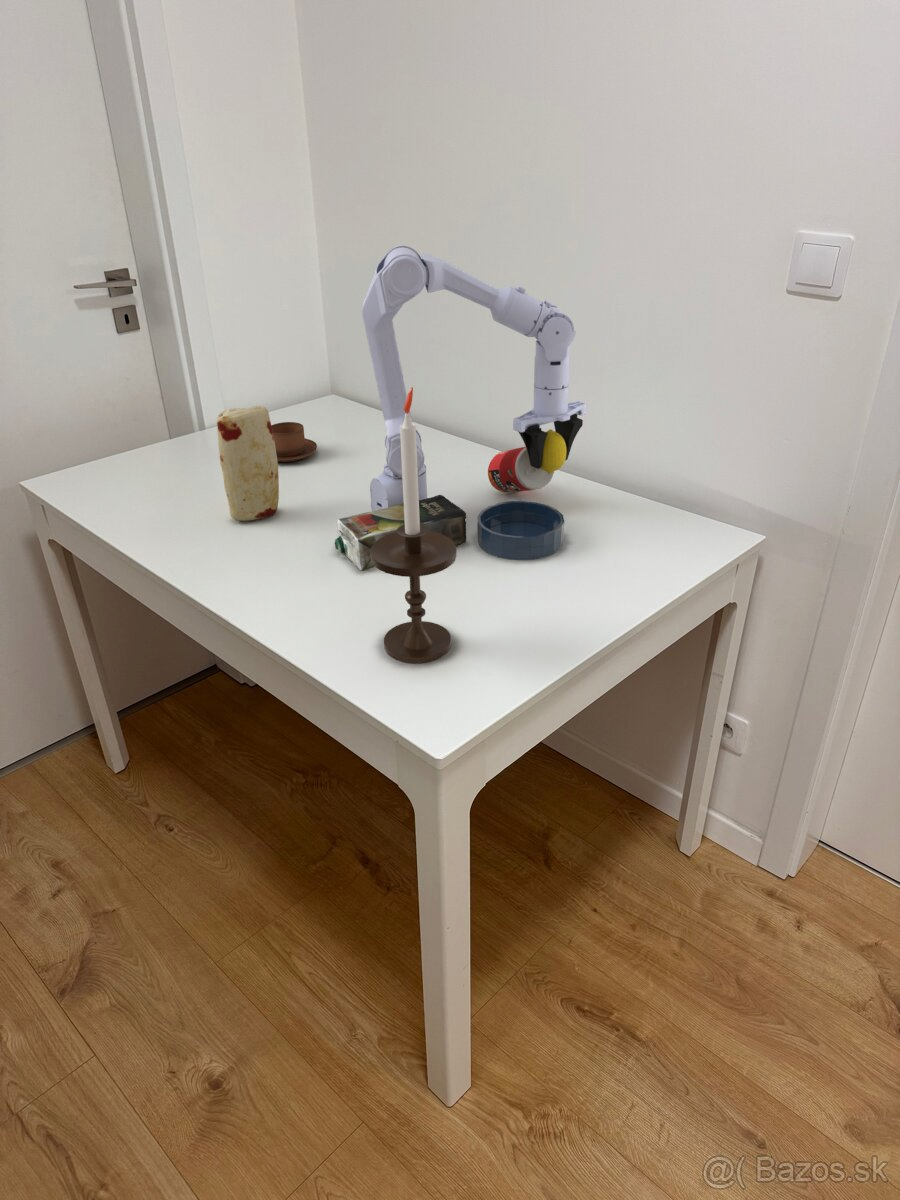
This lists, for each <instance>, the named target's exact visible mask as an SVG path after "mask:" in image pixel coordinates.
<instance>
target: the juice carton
mask: <svg viewBox="0 0 900 1200" xmlns="http://www.w3.org/2000/svg"><path fill="white" fill-rule="evenodd" d="M419 518H420V524H422V525H425V526H426V527H427V528H428V531H431V532H436V533H440V534H442V535H445V536H447V537H449V538H450V539H451V540H452V541H454V543H455V545H456V547H459V546H461V545H464V544H466V543H467V520H466V519H467V512H466V511H465V510H464V509H462V508H460V506H458V505H457V504H455V503H454V502H452V501H451V500H450V499H448V498H447V497H446V496H444V495H443V494H437V495H435V496H431V497H427V499H423V500H419ZM402 525H405V519H404V504H400V505H396V506H393V507H389V508H385V509H379V510H376V511H372V510H371V511H367V512H363V513H362V512H361V513H358V514H354V515H350V516H346V517H341V518H338V519H337V533H338V534H337V535H338V537H337V538H335V539H334V547H335V550H338V551H339V552H340V553H341V554H343V555H345V556H346V557H347V558H348V559H349V560H350V561H351V562H352V563H354V565H355V566H356V567H357V568H358V569H359V571H366V570H369V569H373V568H375V566H374V565H373V564H372V561H371V554H370V551H371V547H372V545H373V544H374V543H375V542H376V541H377V540H379V539H380V538H382V537H384V536H386V535H389V534H392V533H396V532H397V529H398V528H399V527H400V526H402Z"/></svg>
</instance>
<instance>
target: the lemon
mask: <svg viewBox="0 0 900 1200" xmlns="http://www.w3.org/2000/svg"><path fill="white" fill-rule="evenodd" d="M546 432H547V433H548V435H547V437H546V440H545V443H544V448H543V459H542V466H541V468H540V469H542V470H544V471H546V472H547V473H548V474H552V473H553V472H554V473H555V472H556V471H558V470H560V469H561V468H562V467H563V466H564V464H565V462H566V460H565V459H566V444H565V441H564V439H563V437H562V436H561V435H560V434H559V433H557V432H555V430H553V429H548V430H547V431H546Z"/></svg>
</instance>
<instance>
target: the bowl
mask: <svg viewBox="0 0 900 1200" xmlns="http://www.w3.org/2000/svg"><path fill="white" fill-rule="evenodd" d="M564 538H565V517H564V514H562V513H561V511H559V510H558V509H557V508H555V507H553V506H550V505H548V504H546V503H545V504H544V503H541V502H537V501H529V500H512V501H503V502H498V503H494V504H492V505H489V506H487V507H485V508H483V509H482V510H481V511H480V512H479V513H478V515H477V516H476V541H477V544H478V547H479V548H480V549H481V550H482V551H483V552H485V553H486V554H489V555H491V556H493V557H495V558H500V559H505V560H511V561H530V560H539V559H543V558H546V557H549V556H552V555H553V554H555V553H557V552H558V551H560V549H561V548H562V547H563V544H564V540H565V539H564Z"/></svg>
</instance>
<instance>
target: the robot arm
mask: <svg viewBox="0 0 900 1200" xmlns="http://www.w3.org/2000/svg"><path fill="white" fill-rule="evenodd" d="M424 288H425V290H426V292H427V293H428V294H430V293H434V292H438V291H439V292H440V291H443V290H445V291H448V292H450V293H453V294H455V295H457V296H459V297H462V298H464V299H467V300H468V301H471V302H472V303H475V304H478V305H480V306H482V307H484V308H487V309H489V310H490V313H491V318H492V320H493V321H494V322H496V323H497V324H498V323H499V324H500V325H502V326H504V327H507V328H508V329H510V330H512V331H514V332H517V333H519V334H521V335H523V336H525V337H527V338H535V339H536V340H535V355H534V364H533V365H534V368H533V369H534V371H533V372H534V373H533V408H532V409H531V410H529V411H527V412H525V413H523V414H522V415H520V416H517V417H514V418H513V419H512V430H513V431H516V432H517V433H518V434H519V436H520V437H521V440H522V441H523V443H524V447H526V449H527V452H528V456H529V460H530V465H531V466H532V467H535V468H537V469H539V468H541V466H542V459H543V448H544V443H545V440H546V437H547V435H548V433H547V431H544V430H542V427H541V426H543V425H547V424H551V423H553V426H554V431H555V432H557V433H559V434H560V435H561V436H562V437H563V439H564V441H565V444H566V459H565V461H568V460H569V456H570V453H571V449H572V446H573V443H574V441H575V439H576V437H577V435H578V433H579V431H580V430H581V428H582V427H583V424H584V423H583V422H584V420H583V419H582V418H579V417H578V416H586V415H587V403H585V402H582V401H579V400H578V401H572V402H569V393H570V392H569V390H570V366H571V365H570V364H571V356H570V351H571V345H572V343H573V342H574V340H575V337H576V330H575V327H574V323H573V321H572V320H571V318H570V316H568V315H567V314H566V313H565V312H564V311H563V310H562V309H560V308H559V307H558V306H557V305H555V304H553V303H552V302H551V301H549V300H547V299H545V300H544V301H542V300H540V299H538V298H537V297H534V296H533V295H530V294H528V293H526V288H524V286H521V285H520V284H517V285H516V287H514V286H512V285H507V286H504V287H500V288H496V287H495V286H493V285H490V284H489V283H487V282H485V281H484V280H481V279H479V278H478V277H477V276H474V275H472V274H470V273H468V272H466V271H464V270H463V269H461V268H459V267H457V266H455V265H454V264H451V262H449V261H446V260H444V259H443V258H440V257H437V256H435V255H432V254H431V253H427V252H424V251H420V254H419V252H418V251H417V250H416V249H414V248H413V247H411V246H408V245H397V246H394V247H393V248H391V249H389V251H387V252H386V254H385V255H384V256H383V257H382V259H381V260H379V262H378V263H377V265H376V268H375V271H374V273H373V276H372V279H371V281H370V284H369V287H368V290H367V292H366V295H365V297H364V300H363V303H362V306H361V317H362V320H363V321H362V322H363V326H364V329H365V335H366V339H367V344H368V350H369V354H370V359H371V363H372V368H373V372H374V378H375V382H376V387H377V392H378V397H379V401H380V407H381V411H382V416H383V420H384V426H385V431H386V433H385V434H386V435H385V438H384V446H385V449H386V450H385V452H386V457H385V461H386V464H384V466H383V471H382V473H381V474H379V475H377V476H376V477H374V478H372V479H371V481H370V484H369V493H370V507H371V512H372V511H376V510H379V509H385V508H389V507H393V506H396V505H400V504H404V499H403V479H402V459H401V439H400V425H402V424H403V423H404V419H405V414H406V413H405V411H404V407H405V402H406V401H407V395H408V393H407V388H406V383H405V379H404V373H403V368H402V362H401V357H400V353H399V352H400V351H399V347H398V342H397V338H396V337H397V336H396V332H395V327H394V321H393V319H394V318H395V317H396V316H397V314H398V313H399V311H400V310H401V309H402V308H403V306H404V305H405V304H406V303H407V302H409V301H411V300H413V299H414V298H415V297H417V296H418V295H419V294H420V293H421V292H422V291H423V289H424ZM408 414H410V419H411V422H412V424H414V423H413V418H412V413H411V411H410V412H409V413H408ZM416 444H417V469H418V493H419V500H423V499H427V498H428V483H427V479H428V478H427V465H426V463H425V454H424V450H423V448H422V436H421V433H420V432H419V431H418V429H416Z"/></svg>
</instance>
